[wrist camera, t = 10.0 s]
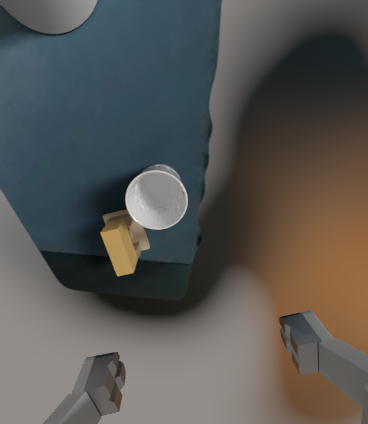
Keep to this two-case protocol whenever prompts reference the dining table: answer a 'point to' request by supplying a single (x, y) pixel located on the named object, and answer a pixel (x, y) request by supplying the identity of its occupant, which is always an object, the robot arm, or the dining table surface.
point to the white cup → (156, 197)
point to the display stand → (131, 230)
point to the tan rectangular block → (119, 246)
